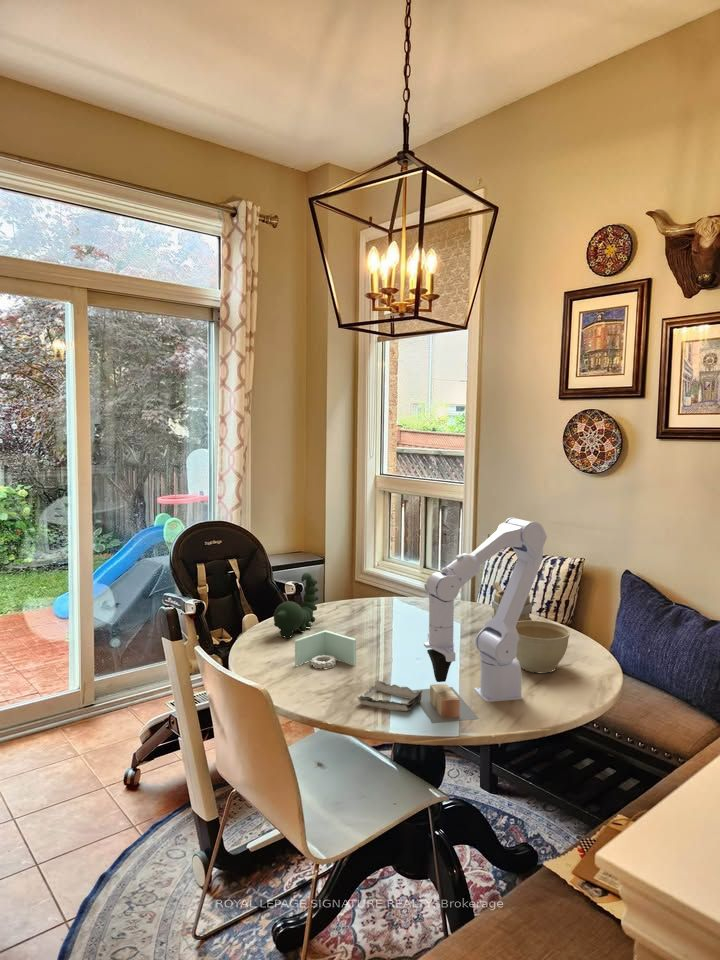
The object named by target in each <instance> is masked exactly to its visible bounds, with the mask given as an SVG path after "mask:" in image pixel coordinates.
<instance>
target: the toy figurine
mask: <svg viewBox="0 0 720 960" xmlns="http://www.w3.org/2000/svg"><path fill="white" fill-rule="evenodd" d="M304 581H305V586H304V594H303V597H302V600H303V601H302V603H301V606H300V604H298V603H297V602H295V601H291V600H288V601H283V602H281V603H280V604H279V605H278V606H277V607H276V608H275V611H274V612H273V621H274V622H273V623H274V627H277V628H278V629H279V635H280V636H281V637H282V636H285V637H290V636H292V637H293V635H294V631H297V630H299V631H300V632H301V631H304V632H305V631H306V630H307V629H306V627H311V628H312V624H311V623H315V622H316V618H315V616H314V611H317V610H318V606H317V605H316V603H315V602H316V601H318V600H319V597H318V596H317V595H316V592H318V591H319V588H318V587H316V585H317V584H318V580H316V579H315V578H314V577H312V574H311V573H309V572H303V574H302V576H301V581H300V582H304ZM285 637H284V638H285ZM290 638H291V637H290Z"/></svg>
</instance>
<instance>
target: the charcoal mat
mask: <svg viewBox="0 0 720 960" xmlns="http://www.w3.org/2000/svg"><path fill="white" fill-rule="evenodd" d="M449 687H450V689H451V690H452V691H453V692H454V693H455V695H456V696H457V697H458V698H459V699H460V713H459V717H450V718H442V717H441V715H440V714H439V713H438V711H437V710H436V709H435V707H434V706H433V704H432V703H431V702H430V688H423V689H411V691H412V692H413V693H417V691H419V692H421V691H422V693H421V696H422V697H421V701H420V702H418V703H417V704H418V705H419V706H420V707H421V709H422V710H423V712H424V713H425V714H426V716H427V717H428V720H429V721H430V722H431V724H437V723H438V724H439V723H447V722H448V723H449V722H459V721H469V720H472V721H473V720H479V719H480V718H479V716H477V714H476V713H475V712H474V711H473V710H472V709H471V707H470V706H469V705H468V704H467V703H466V702H465V700H464V699H463V698H462V697H461V696H460V695H459V693H458V692H457V691H456V690H455V689H454V687H452V686H449Z"/></svg>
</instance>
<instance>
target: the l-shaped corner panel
mask: <svg viewBox="0 0 720 960" xmlns="http://www.w3.org/2000/svg"><path fill="white" fill-rule="evenodd" d="M335 659H337V660H335ZM310 660H312V661H311V662H310V666H312V665H313V667H316V668H331V667H333V668H334V667H335V666H333V665H334V664H335V665H336V661H338V660H340V661H339V662H341V661H343V662H342V663H344V662H345V663H344V664H347V663H348V664H347V665H350V664H351V665H350V666H353V665H355V666H356V665H357V638H354V637H350V636H346V635H344V634H340V633H336V632H333V631H330V630H322V631H319V632H316V633H313V634H310V635H307V636H306V635H305V636H303V637H301V638H297V639H295V640H294V666H295V665H300V664H302V663H305V662H307V661H310ZM321 661H322V662H321ZM323 661H325V662H323ZM300 666H301V665H300ZM313 667H312V668H313ZM316 668H315V669H316Z"/></svg>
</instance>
